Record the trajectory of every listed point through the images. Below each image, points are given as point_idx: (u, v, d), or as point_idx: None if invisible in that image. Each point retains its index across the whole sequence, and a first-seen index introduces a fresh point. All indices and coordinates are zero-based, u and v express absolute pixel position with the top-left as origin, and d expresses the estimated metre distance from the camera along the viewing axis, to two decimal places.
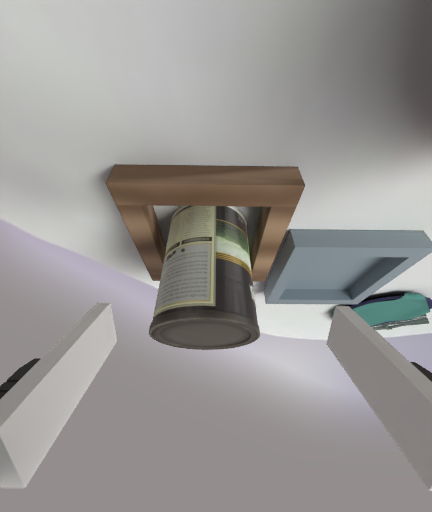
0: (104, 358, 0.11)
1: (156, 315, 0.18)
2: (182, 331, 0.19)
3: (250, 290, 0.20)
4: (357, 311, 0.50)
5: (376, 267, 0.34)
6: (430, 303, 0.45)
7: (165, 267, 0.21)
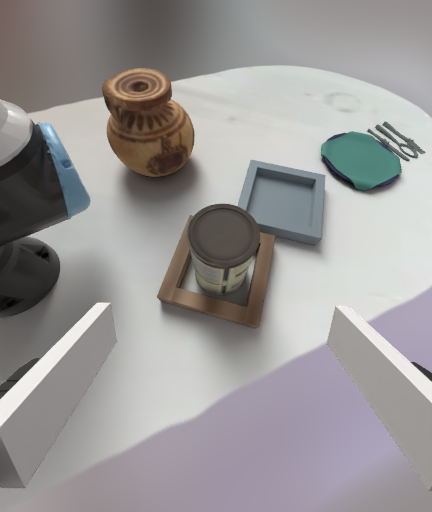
0: (104, 358, 0.11)
1: (196, 257, 0.29)
2: (209, 242, 0.29)
3: None
4: (360, 172, 0.53)
5: (277, 178, 0.51)
6: (337, 136, 0.58)
7: (197, 269, 0.33)
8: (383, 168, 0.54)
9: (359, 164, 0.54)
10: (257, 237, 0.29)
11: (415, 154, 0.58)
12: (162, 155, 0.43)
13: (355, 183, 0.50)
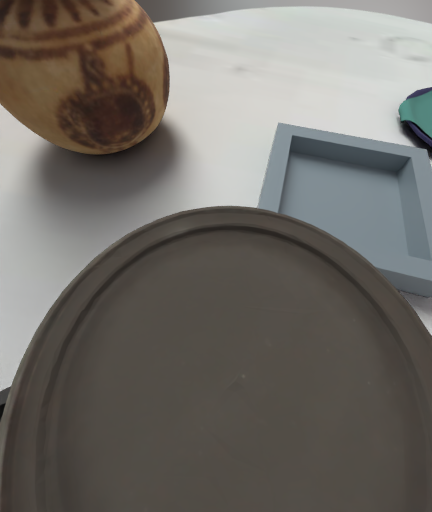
0: None
1: None
2: (141, 469, 0.04)
3: None
4: None
5: (329, 157, 0.27)
6: (422, 92, 0.34)
7: None
8: None
9: None
10: None
11: None
12: (88, 96, 0.19)
13: None
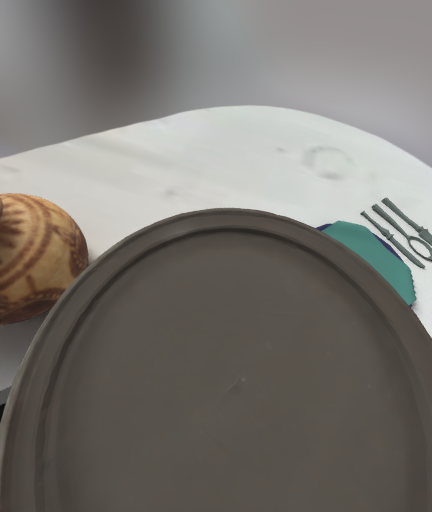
0: None
1: None
2: (141, 474, 0.04)
3: None
4: None
5: None
6: None
7: None
8: None
9: None
10: None
11: None
12: None
13: None
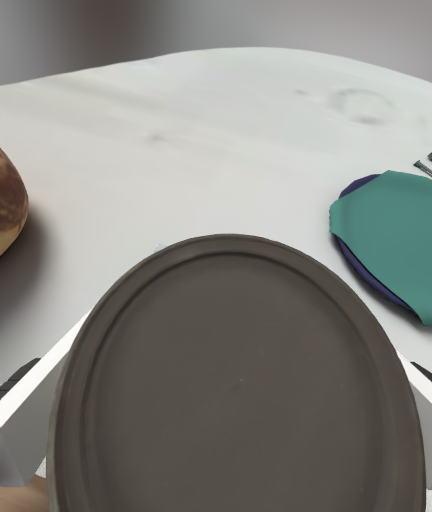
0: None
1: None
2: (162, 453, 0.05)
3: None
4: (425, 277, 0.23)
5: None
6: (360, 183, 0.28)
7: None
8: None
9: (418, 252, 0.24)
10: (406, 415, 0.06)
11: None
12: None
13: (425, 318, 0.20)
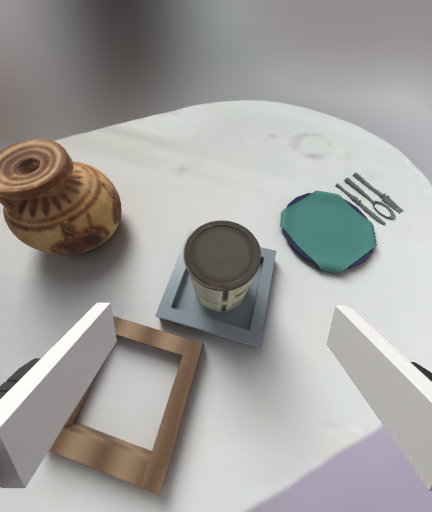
0: (104, 358, 0.11)
1: (193, 278, 0.27)
2: (207, 263, 0.27)
3: None
4: (327, 248, 0.44)
5: None
6: (299, 198, 0.49)
7: (195, 288, 0.32)
8: (355, 239, 0.45)
9: (326, 236, 0.45)
10: (258, 257, 0.27)
11: (392, 214, 0.49)
12: (66, 241, 0.35)
13: (321, 267, 0.41)
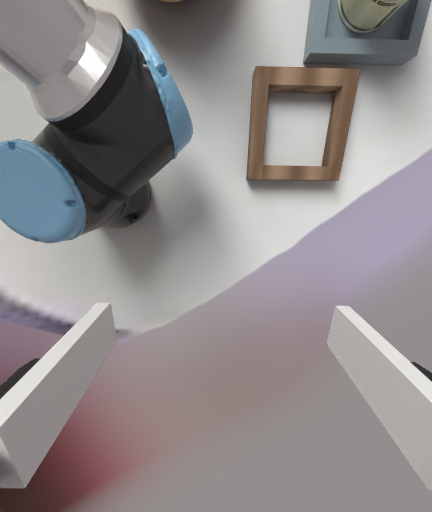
0: (104, 358, 0.11)
1: None
2: None
3: None
4: None
5: None
6: None
7: None
8: None
9: None
10: None
11: None
12: None
13: None
